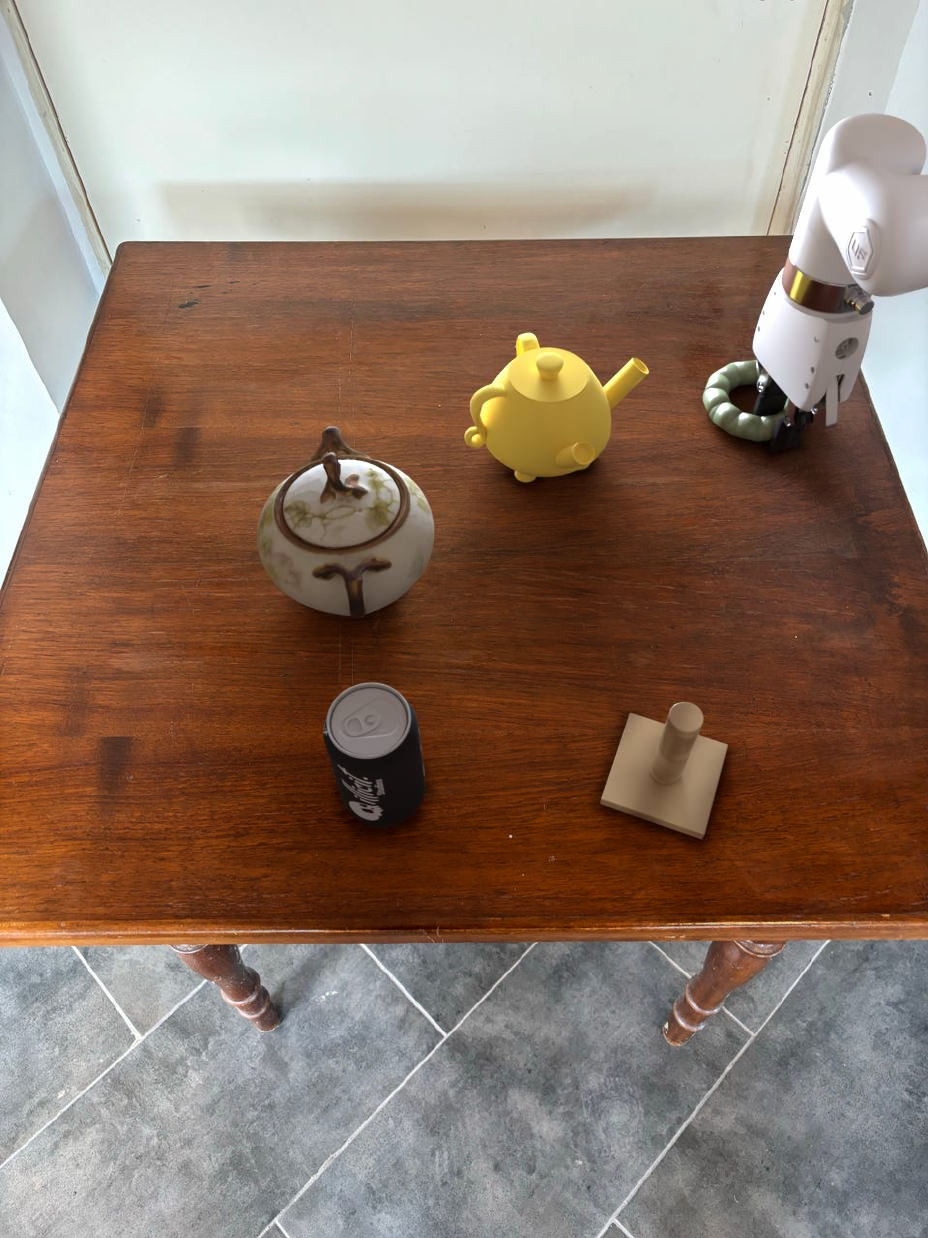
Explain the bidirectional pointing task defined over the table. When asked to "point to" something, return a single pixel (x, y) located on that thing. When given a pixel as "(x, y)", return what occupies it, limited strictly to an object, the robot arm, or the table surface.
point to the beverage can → (376, 754)
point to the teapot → (547, 411)
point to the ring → (728, 413)
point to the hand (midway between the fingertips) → (774, 432)
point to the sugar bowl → (345, 531)
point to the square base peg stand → (666, 771)
